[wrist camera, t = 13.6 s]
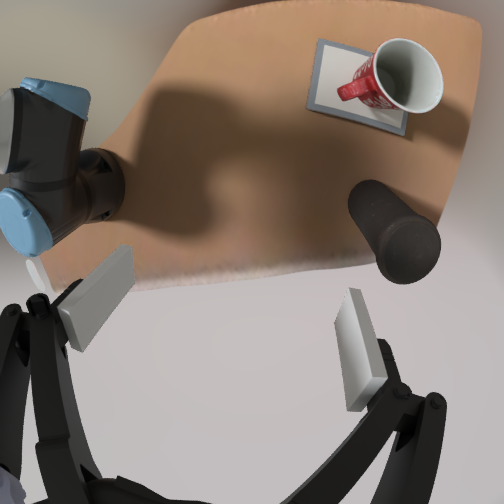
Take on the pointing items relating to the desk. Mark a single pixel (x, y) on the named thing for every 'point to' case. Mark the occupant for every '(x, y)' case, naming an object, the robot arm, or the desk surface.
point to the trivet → (338, 74)
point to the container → (394, 233)
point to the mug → (397, 78)
